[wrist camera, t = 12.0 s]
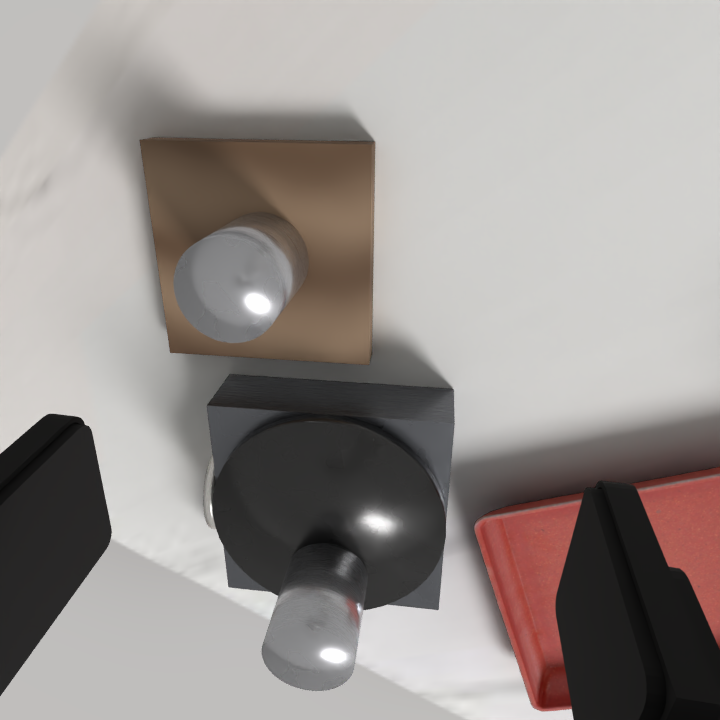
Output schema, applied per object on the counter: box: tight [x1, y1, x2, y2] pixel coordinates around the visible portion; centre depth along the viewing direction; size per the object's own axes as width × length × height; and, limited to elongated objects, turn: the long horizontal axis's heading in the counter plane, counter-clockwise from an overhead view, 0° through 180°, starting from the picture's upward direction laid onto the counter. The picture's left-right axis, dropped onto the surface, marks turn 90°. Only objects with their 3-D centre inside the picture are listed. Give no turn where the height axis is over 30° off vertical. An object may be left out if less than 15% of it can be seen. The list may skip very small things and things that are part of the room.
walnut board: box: [140, 138, 375, 365], centre depth 33 cm, size 12×12×2 cm
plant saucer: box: [474, 467, 720, 711], centre depth 39 cm, size 18×18×3 cm
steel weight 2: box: [262, 543, 368, 691], centre depth 34 cm, size 5×5×6 cm
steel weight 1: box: [173, 212, 309, 343], centre depth 30 cm, size 5×5×6 cm
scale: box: [203, 374, 454, 610], centre depth 38 cm, size 14×15×6 cm
